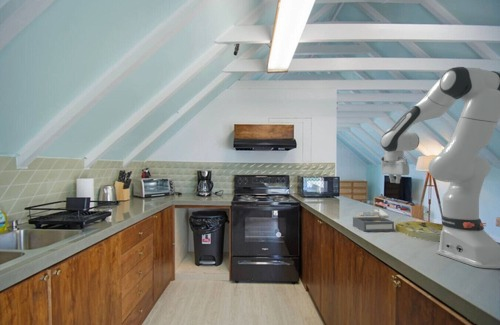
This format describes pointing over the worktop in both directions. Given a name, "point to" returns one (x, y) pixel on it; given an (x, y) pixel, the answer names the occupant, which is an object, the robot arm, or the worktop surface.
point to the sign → (420, 229)
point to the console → (373, 224)
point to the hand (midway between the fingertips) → (395, 183)
